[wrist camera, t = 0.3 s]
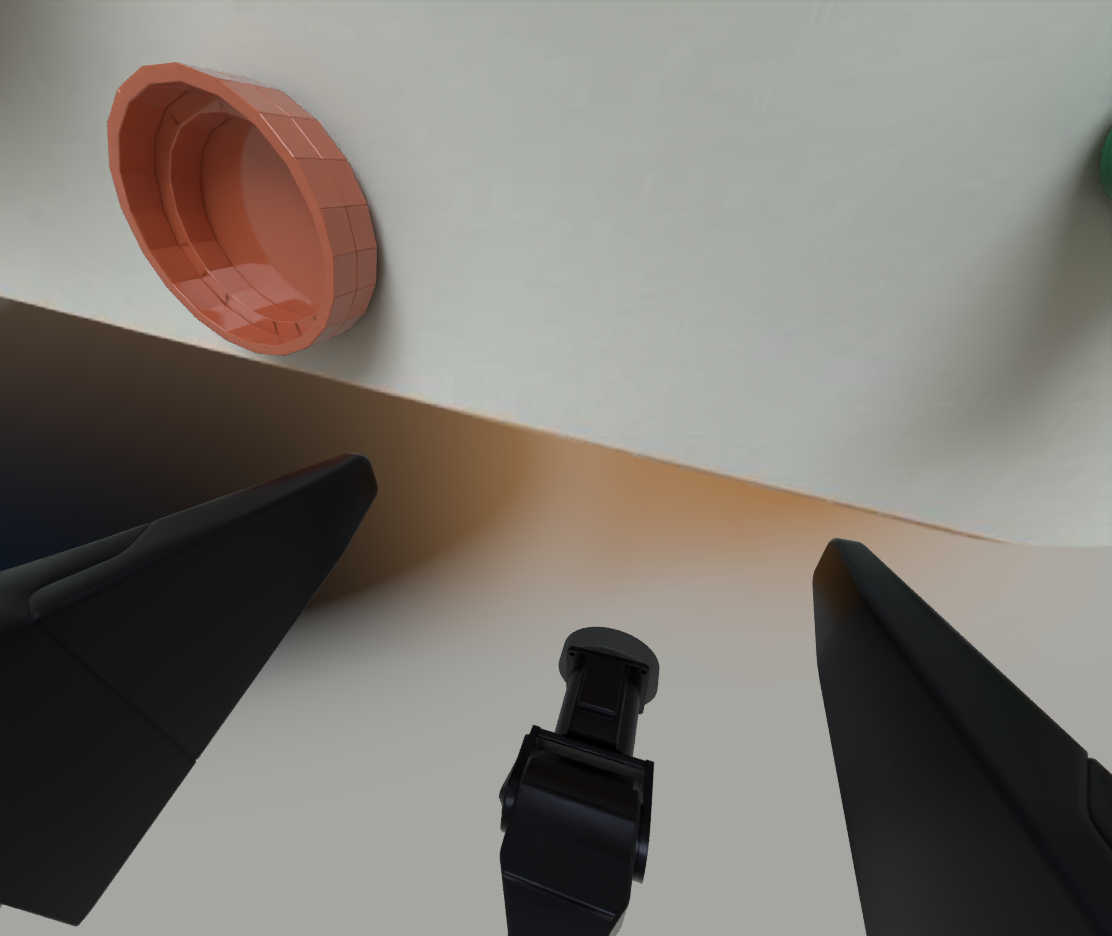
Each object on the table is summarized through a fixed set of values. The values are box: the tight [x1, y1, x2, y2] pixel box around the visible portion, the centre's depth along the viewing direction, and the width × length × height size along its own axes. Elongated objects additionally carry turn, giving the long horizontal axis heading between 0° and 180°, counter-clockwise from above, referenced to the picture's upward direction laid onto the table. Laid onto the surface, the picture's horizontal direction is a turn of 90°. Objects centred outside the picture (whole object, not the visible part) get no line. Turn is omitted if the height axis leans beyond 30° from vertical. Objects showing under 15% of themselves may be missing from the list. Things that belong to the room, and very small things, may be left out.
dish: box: [107, 62, 377, 356], centre depth 23 cm, size 12×12×4 cm
